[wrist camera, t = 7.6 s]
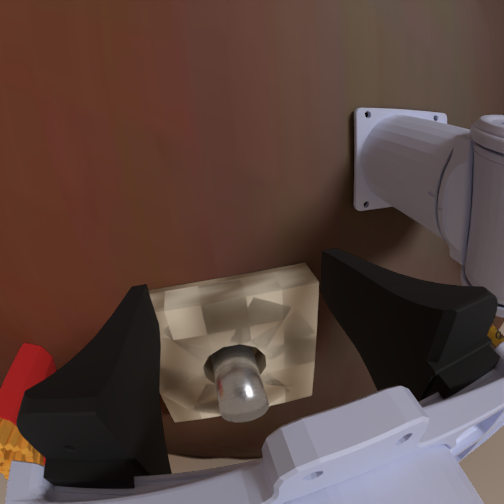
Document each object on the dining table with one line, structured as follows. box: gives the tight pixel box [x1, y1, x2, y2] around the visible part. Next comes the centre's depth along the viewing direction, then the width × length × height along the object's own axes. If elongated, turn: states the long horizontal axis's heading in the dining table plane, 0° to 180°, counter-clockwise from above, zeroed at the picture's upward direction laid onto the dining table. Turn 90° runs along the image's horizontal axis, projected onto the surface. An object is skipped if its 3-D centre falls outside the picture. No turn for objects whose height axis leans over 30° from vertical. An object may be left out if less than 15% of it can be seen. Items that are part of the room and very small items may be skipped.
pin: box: [211, 344, 269, 422], centre depth 24 cm, size 4×4×7 cm
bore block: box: [148, 263, 319, 422], centre depth 26 cm, size 14×14×3 cm
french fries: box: [0, 343, 57, 479], centre depth 19 cm, size 9×4×13 cm, turn 167°
